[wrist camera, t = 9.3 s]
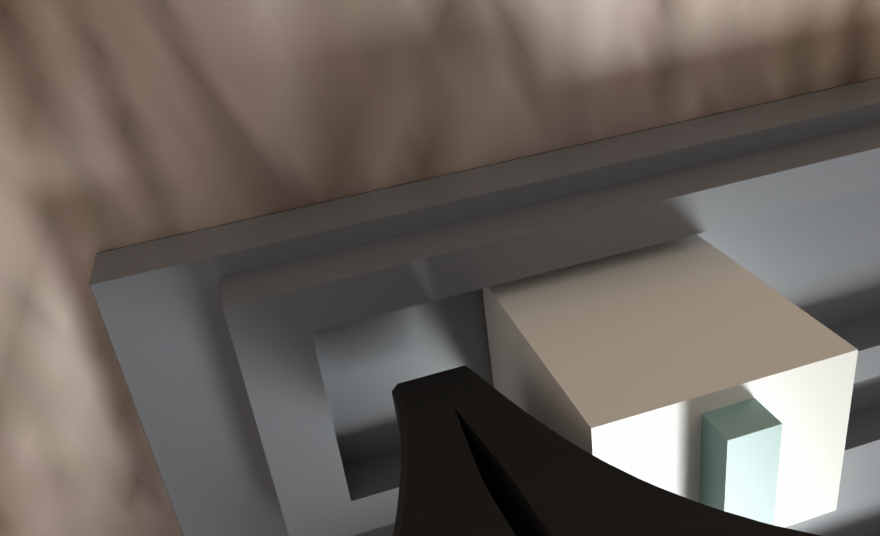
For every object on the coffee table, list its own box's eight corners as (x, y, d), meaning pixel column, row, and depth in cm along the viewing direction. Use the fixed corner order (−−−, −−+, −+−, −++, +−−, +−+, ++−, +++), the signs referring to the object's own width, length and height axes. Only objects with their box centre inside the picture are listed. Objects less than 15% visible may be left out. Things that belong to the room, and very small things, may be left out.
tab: (682, 359, 17) (864, 538, 12) (496, 412, 16) (618, 622, 11) (685, 225, 15) (890, 372, 11) (481, 277, 14) (612, 457, 10)
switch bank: (962, 492, 24) (1031, 547, 22) (268, 729, 20) (278, 821, 18) (1067, 35, 17) (1176, 56, 16) (96, 253, 14) (82, 315, 12)
